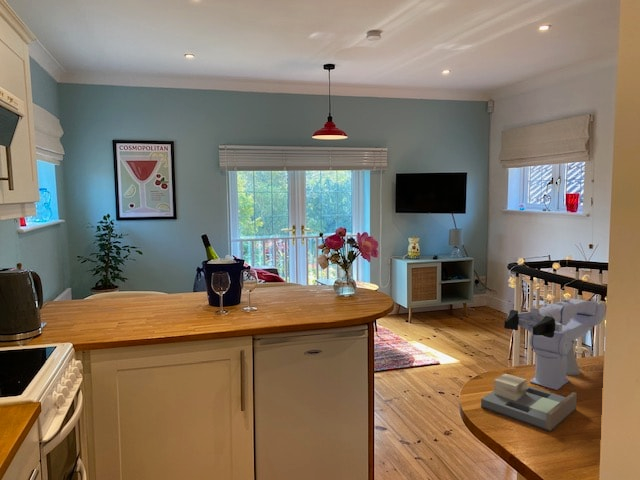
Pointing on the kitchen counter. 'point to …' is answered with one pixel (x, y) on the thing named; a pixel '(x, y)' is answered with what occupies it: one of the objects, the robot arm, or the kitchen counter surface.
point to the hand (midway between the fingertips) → (519, 327)
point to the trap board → (533, 407)
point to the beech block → (510, 386)
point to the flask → (572, 363)
